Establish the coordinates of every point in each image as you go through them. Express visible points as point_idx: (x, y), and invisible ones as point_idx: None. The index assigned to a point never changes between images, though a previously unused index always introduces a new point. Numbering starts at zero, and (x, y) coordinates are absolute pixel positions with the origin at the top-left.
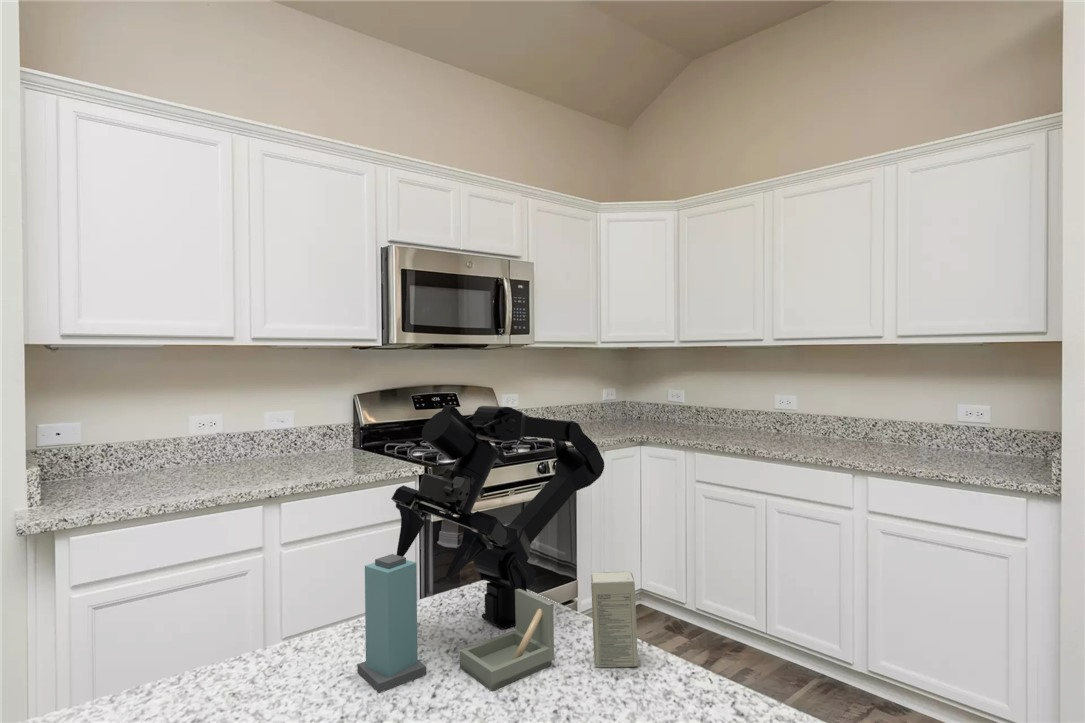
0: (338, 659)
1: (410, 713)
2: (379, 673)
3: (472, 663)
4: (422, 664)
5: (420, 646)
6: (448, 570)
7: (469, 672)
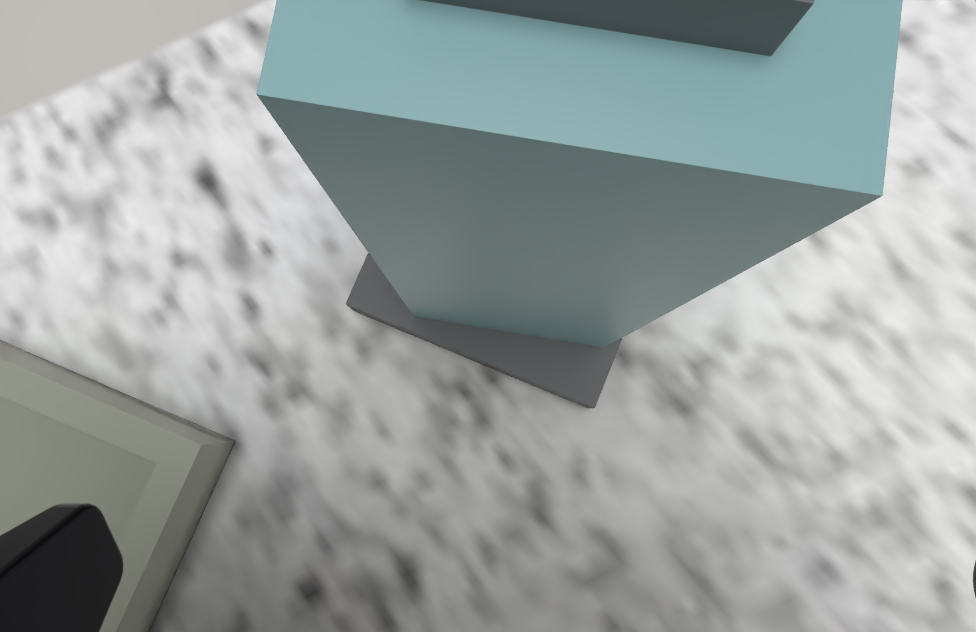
0: (872, 237)
1: (218, 30)
2: None
3: (88, 390)
4: (374, 308)
5: (583, 549)
6: (15, 547)
7: (144, 403)
